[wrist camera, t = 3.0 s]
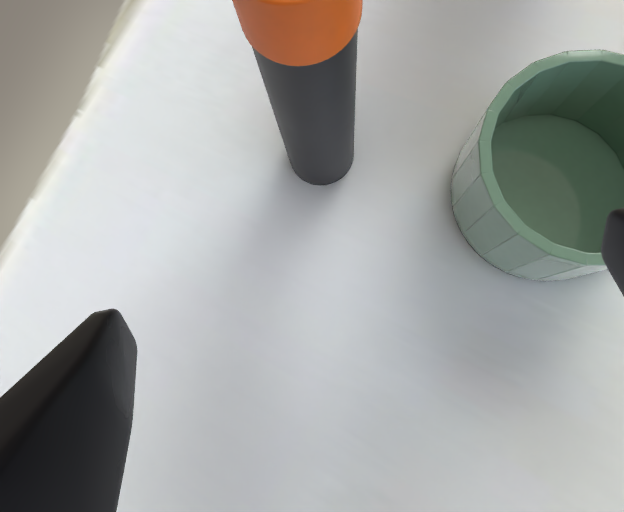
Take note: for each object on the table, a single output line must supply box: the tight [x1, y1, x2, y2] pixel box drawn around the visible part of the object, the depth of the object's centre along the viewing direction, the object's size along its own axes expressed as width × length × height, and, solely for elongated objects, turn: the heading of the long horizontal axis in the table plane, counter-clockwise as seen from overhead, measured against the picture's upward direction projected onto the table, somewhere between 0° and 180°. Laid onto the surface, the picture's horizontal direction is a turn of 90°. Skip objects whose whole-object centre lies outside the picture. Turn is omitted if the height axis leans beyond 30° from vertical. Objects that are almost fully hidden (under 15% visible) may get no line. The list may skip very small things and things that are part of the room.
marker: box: [232, 0, 362, 185], centre depth 17 cm, size 3×3×13 cm
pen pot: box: [451, 50, 624, 281], centre depth 20 cm, size 8×8×5 cm
